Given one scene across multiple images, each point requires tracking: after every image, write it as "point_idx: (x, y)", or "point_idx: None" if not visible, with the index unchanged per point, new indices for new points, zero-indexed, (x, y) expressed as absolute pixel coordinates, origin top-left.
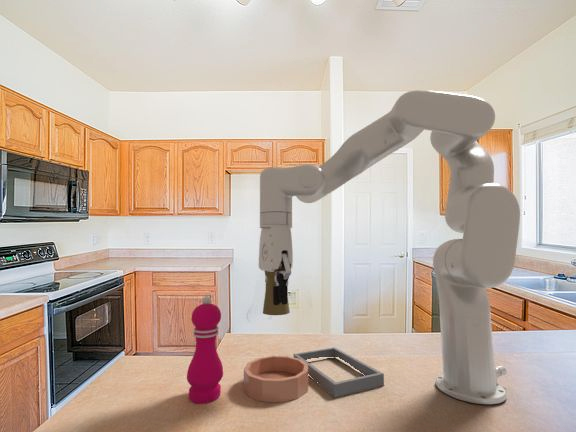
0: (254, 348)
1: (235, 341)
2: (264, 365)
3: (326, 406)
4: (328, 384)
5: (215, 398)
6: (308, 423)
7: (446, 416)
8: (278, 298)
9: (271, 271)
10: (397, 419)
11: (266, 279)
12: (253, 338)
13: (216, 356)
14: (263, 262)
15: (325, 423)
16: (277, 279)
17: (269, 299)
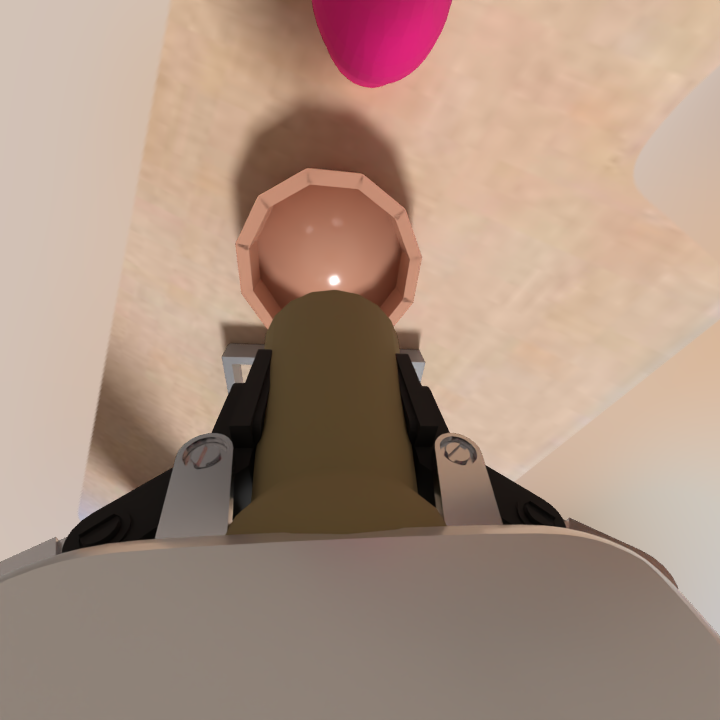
0: (579, 310)
1: (677, 283)
2: (403, 266)
3: (201, 312)
4: (250, 352)
5: (328, 50)
6: (143, 245)
7: (123, 443)
8: (236, 387)
9: (84, 549)
10: (127, 386)
11: (451, 462)
12: (646, 337)
13: (350, 6)
14: (423, 699)
15: (136, 276)
16: (168, 493)
17: (291, 347)
